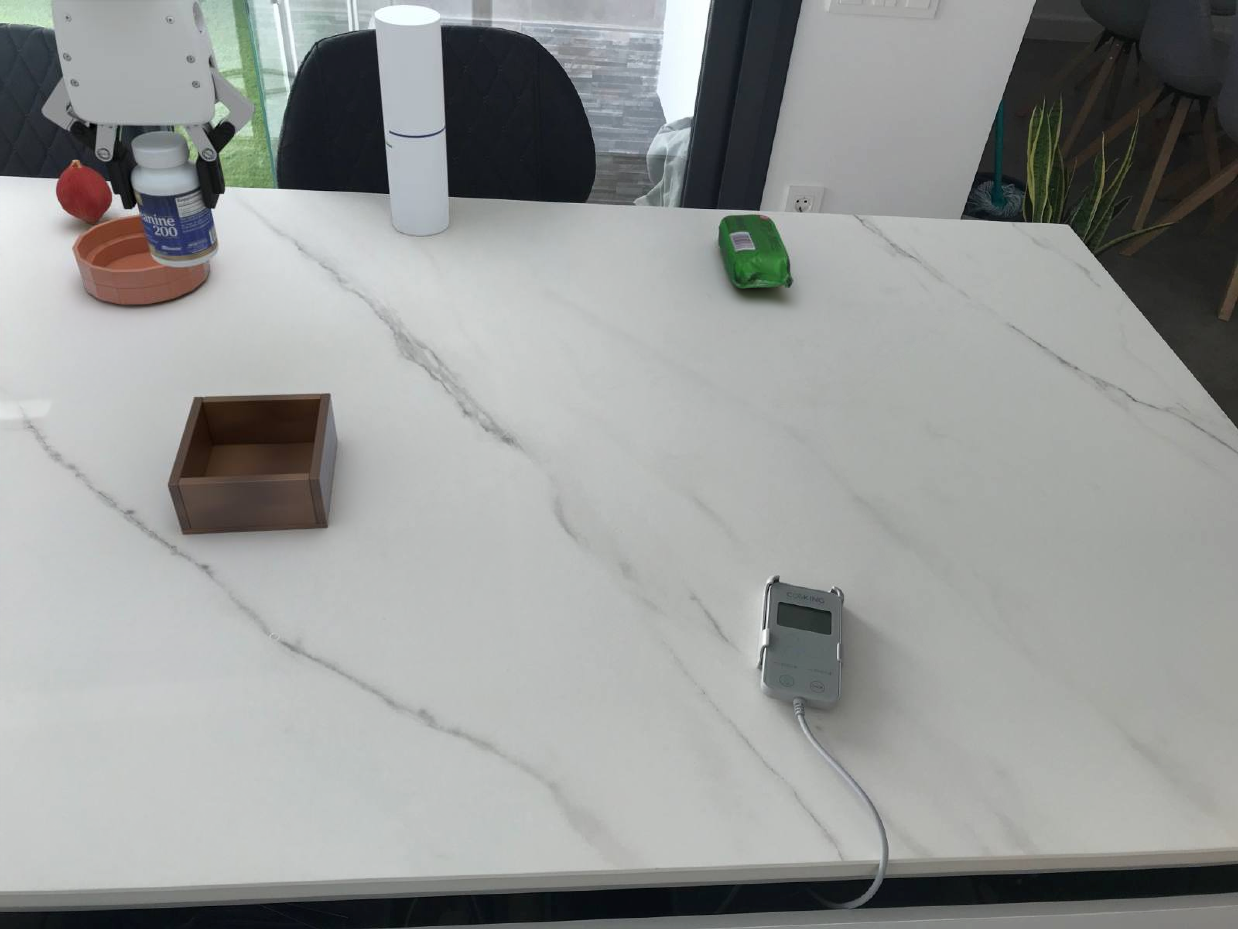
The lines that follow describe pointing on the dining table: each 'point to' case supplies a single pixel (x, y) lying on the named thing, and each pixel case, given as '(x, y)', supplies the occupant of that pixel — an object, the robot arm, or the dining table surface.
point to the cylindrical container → (413, 117)
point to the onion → (83, 193)
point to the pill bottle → (171, 201)
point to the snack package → (754, 252)
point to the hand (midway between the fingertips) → (172, 199)
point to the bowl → (129, 265)
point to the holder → (255, 463)
